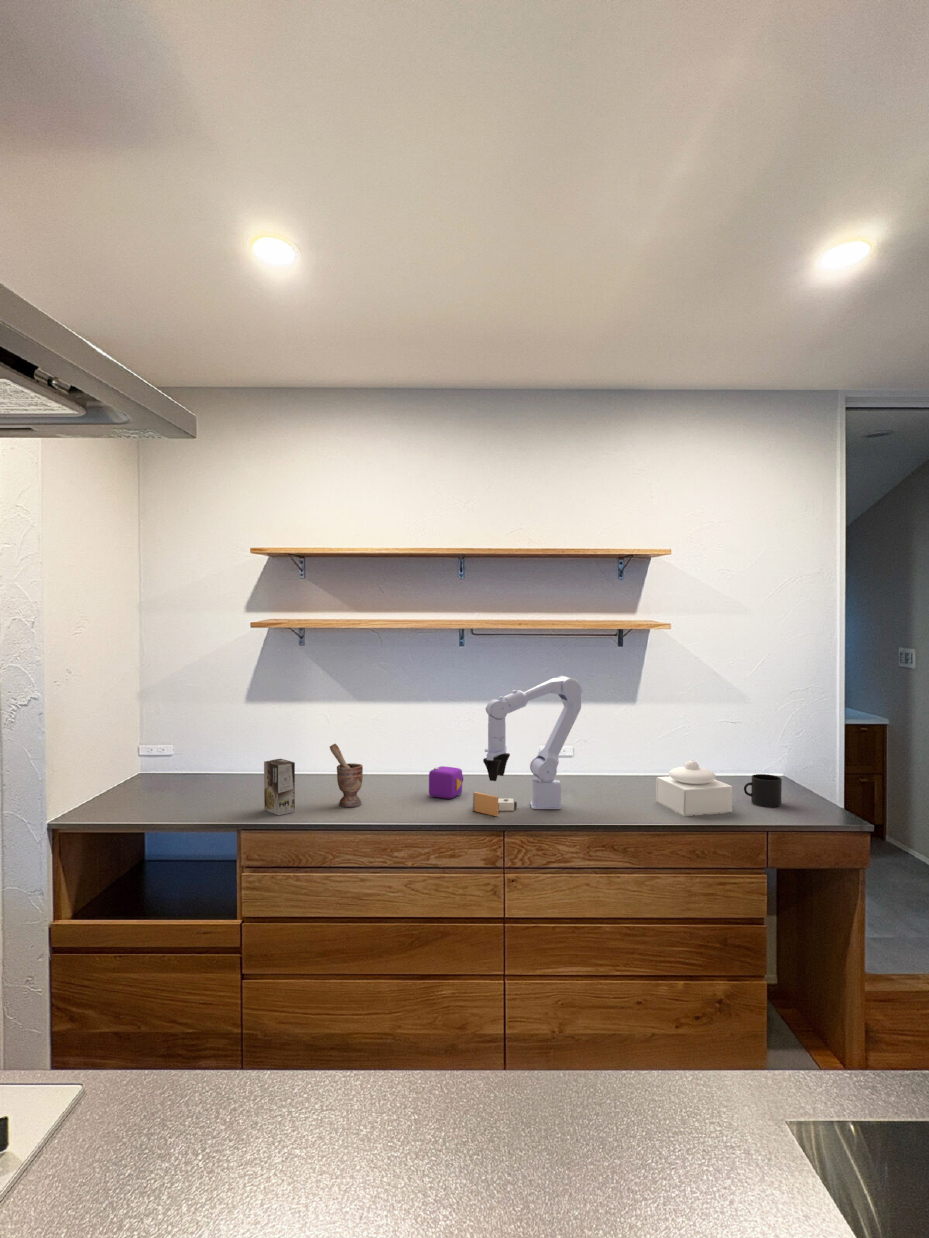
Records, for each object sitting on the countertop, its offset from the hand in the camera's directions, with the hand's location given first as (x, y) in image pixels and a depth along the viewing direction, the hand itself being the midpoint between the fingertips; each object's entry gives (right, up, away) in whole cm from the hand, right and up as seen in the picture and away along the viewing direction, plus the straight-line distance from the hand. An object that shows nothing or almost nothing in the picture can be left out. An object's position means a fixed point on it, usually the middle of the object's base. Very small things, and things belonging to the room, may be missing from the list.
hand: (496, 777), depth 240 cm
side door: (-4, -10, -5) cm, 12 cm away
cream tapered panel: (-1, -10, +1) cm, 10 cm away
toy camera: (-17, -10, +19) cm, 27 cm away
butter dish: (+65, -11, +4) cm, 67 cm away
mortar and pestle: (-51, -10, +5) cm, 52 cm away
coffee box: (-70, -10, -3) cm, 71 cm away
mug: (+90, -11, +9) cm, 92 cm away
